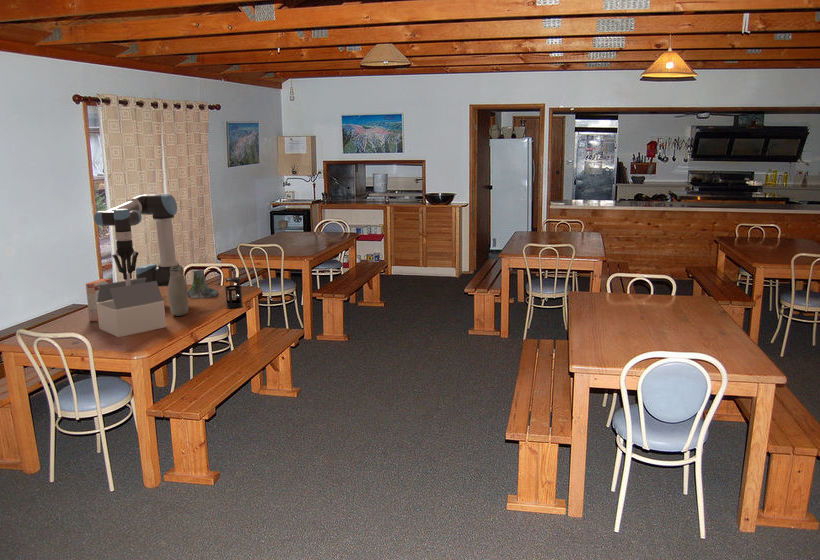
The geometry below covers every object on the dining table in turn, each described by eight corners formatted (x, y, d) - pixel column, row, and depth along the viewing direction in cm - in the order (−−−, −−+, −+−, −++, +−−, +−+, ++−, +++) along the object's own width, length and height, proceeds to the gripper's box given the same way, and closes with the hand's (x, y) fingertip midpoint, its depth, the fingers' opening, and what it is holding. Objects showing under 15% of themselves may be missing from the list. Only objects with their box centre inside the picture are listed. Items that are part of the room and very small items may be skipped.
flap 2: (156, 281, 356) (156, 280, 356) (162, 300, 355) (162, 300, 354) (109, 288, 340) (109, 288, 339) (116, 309, 338) (116, 308, 338)
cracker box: (98, 322, 369) (94, 283, 364) (88, 321, 370) (84, 283, 366) (115, 315, 382) (111, 278, 378) (105, 314, 383) (101, 278, 379)
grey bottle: (169, 318, 375) (164, 267, 369) (172, 313, 385) (168, 264, 379) (187, 317, 376) (183, 266, 371) (190, 312, 386) (186, 263, 380)
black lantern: (238, 309, 392) (235, 270, 387) (222, 309, 393) (220, 269, 389) (246, 304, 403) (244, 266, 398) (231, 304, 405) (229, 265, 400)
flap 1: (100, 285, 347) (99, 284, 348) (97, 301, 353) (97, 301, 353) (145, 278, 364) (145, 277, 365) (142, 293, 370) (142, 293, 370)
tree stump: (191, 300, 416) (185, 271, 415) (185, 302, 433) (180, 274, 433) (221, 295, 424) (216, 267, 424) (214, 297, 442) (209, 269, 442)
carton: (145, 319, 373) (143, 294, 371) (166, 326, 358) (163, 301, 355) (99, 328, 356) (96, 303, 353) (118, 337, 340) (115, 310, 337)
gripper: (114, 241, 340) (118, 288, 345) (140, 239, 349) (144, 284, 354) (108, 240, 345) (112, 286, 350) (133, 237, 354) (137, 282, 359)
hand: (128, 285), depth 352 cm, fingers closed
